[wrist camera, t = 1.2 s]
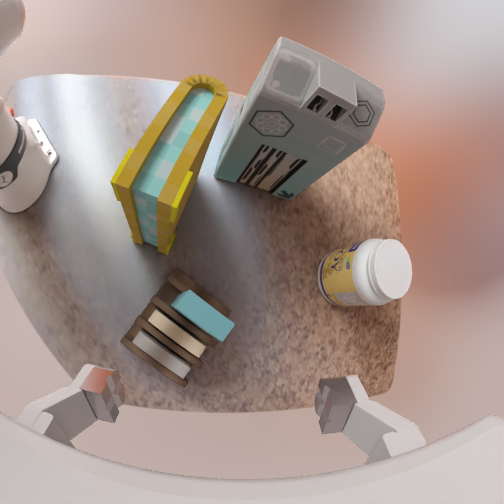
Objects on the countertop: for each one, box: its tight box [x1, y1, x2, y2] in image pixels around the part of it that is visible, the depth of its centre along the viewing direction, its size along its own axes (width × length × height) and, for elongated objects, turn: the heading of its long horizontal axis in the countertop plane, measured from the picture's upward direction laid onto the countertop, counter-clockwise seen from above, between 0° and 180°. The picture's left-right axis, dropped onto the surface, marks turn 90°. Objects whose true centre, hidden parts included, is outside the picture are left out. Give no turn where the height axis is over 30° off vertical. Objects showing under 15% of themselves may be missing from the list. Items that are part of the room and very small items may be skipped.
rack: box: [120, 268, 231, 388], centre depth 41 cm, size 12×16×6 cm
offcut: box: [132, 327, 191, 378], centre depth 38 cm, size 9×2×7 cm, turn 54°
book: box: [110, 75, 228, 256], centre depth 36 cm, size 17×7×25 cm, turn 161°
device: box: [214, 37, 385, 200], centre depth 41 cm, size 16×8×30 cm, turn 80°
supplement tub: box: [317, 239, 412, 306], centre depth 49 cm, size 12×12×17 cm
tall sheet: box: [170, 290, 235, 342], centre depth 36 cm, size 6×2×18 cm, turn 54°
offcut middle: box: [148, 309, 206, 358], centre depth 39 cm, size 9×2×7 cm, turn 54°
